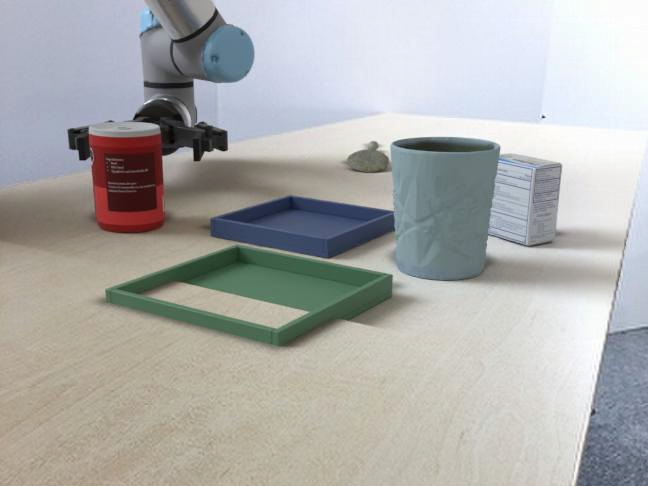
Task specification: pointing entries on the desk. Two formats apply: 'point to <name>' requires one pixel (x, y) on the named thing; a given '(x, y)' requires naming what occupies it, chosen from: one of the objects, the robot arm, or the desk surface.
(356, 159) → the knobbed grey dome
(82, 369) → the desk surface
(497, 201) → the medicine box
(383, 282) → the green tray
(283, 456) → the desk surface
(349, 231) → the blue tray
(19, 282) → the desk surface
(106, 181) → the canned food
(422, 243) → the embossed blue cup
